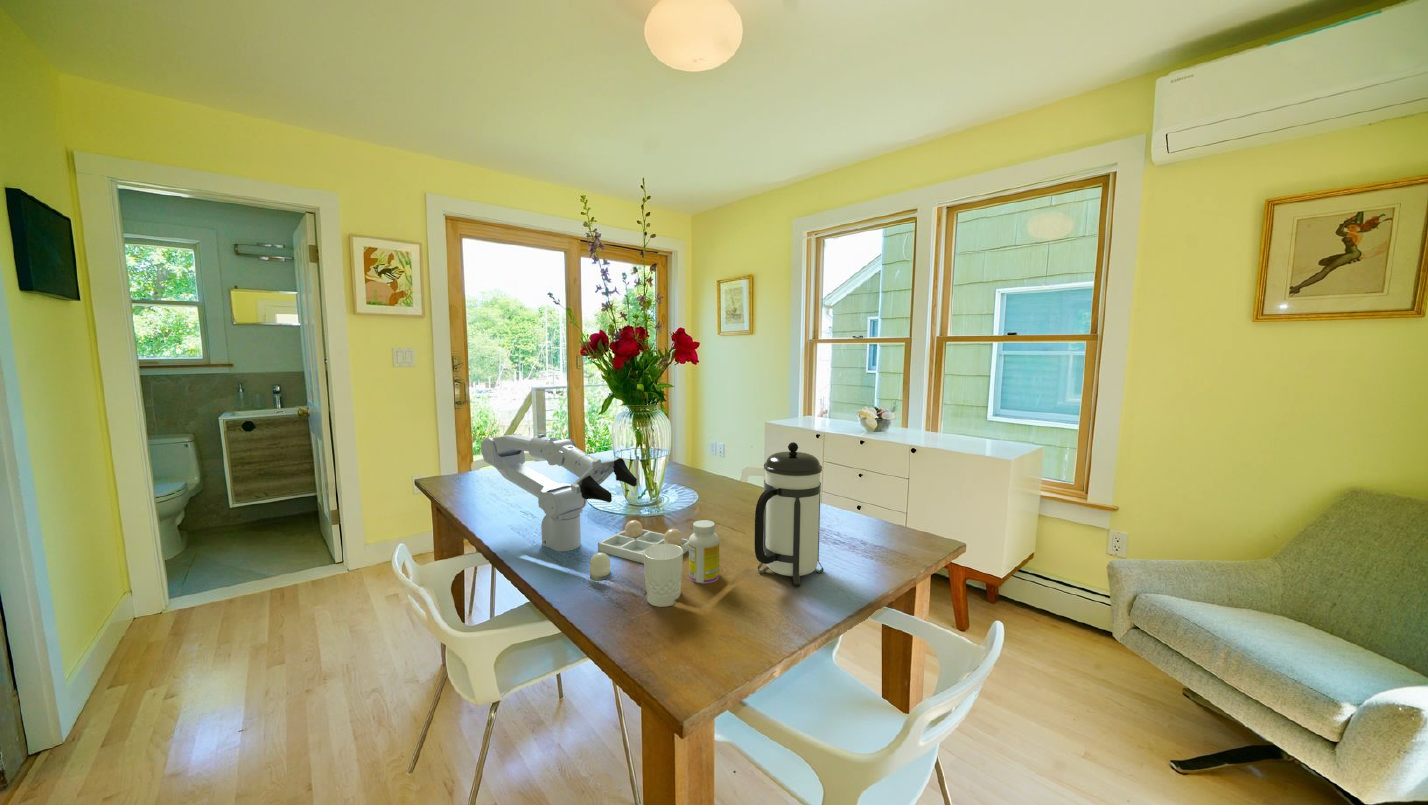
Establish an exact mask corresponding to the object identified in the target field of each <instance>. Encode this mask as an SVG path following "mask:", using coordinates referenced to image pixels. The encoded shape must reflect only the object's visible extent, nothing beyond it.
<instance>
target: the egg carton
mask: <svg viewBox="0 0 1428 805" xmlns="http://www.w3.org/2000/svg"><path fill="white" fill-rule="evenodd" d="M664 535H665V533H662V532H661V533H660V532H656V531H652V530H648V529H643V528H642V536H640V537H638V538H636V539H634V538H630V537H626V536H625V529H624V530H623V531H622V530H621V531H620V532H618V533H616V534H614V535H611V536H610V537H608V538H607V537H606V538H605V539H604V540H601V541H599V542H597V551H598V552H602V553H605V554H607V555H612V556H615V557H619V558H622V559H626V560H630V561H633V562H637V563H641V564H644V553H643V552H644V550H645V549H646V548H648V547H650V546H653V545H657V544H664ZM680 547H681V548H682V549H683V555H684V554H686V553H688V552H689V539H687V538H683V537H682V545H681V546H680Z"/></svg>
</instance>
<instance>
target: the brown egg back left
mask: <svg viewBox="0 0 1428 805" xmlns="http://www.w3.org/2000/svg"><path fill="white" fill-rule="evenodd" d="M642 529H643V524H642V523H641V522H640V521H638V520H636V519H632V520H629V521H628V522H627V523H626V525H625V526H624V530H625V536H626V537H630V538H634V539H636V538H638V537H640V536H642Z"/></svg>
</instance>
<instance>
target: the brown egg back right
mask: <svg viewBox="0 0 1428 805" xmlns="http://www.w3.org/2000/svg"><path fill="white" fill-rule="evenodd" d="M664 534H665V535H664V544H673V545H677V546H679V547H680V546H681V545H682V538H683V535H682V532H681V531H680V530H679V529H677V528H669V529H668V530H667V531H666V532H665V533H664Z"/></svg>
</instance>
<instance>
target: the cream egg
mask: <svg viewBox="0 0 1428 805" xmlns="http://www.w3.org/2000/svg"><path fill="white" fill-rule="evenodd" d="M608 555H609V554H607V553H604V552H600V551H598V552H597V553H594V554H593V555H592V556H591V558H590V561H589V578H590V580H591V581H595V582H601V581H607V579H606V578H603V577H605V576H607V575H609V574H610V573H611V559H610V556H608Z"/></svg>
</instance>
